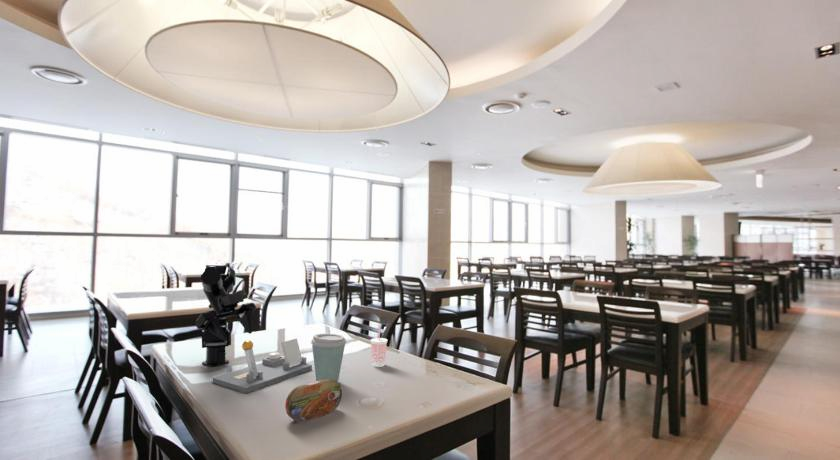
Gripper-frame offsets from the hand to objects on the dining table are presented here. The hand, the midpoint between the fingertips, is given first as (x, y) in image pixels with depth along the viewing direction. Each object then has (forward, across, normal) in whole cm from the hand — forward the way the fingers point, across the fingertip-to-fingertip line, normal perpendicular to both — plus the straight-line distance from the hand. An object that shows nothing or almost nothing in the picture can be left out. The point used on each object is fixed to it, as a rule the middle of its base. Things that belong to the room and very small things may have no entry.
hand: (238, 336), depth 130 cm
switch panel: (+14, +6, +5) cm, 16 cm away
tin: (+36, -8, -22) cm, 43 cm away
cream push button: (+9, +13, +6) cm, 17 cm away
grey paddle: (+15, +14, +1) cm, 21 cm away
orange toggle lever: (+14, -2, 0) cm, 15 cm away
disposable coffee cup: (+29, +11, -12) cm, 33 cm away
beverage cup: (+31, +35, -13) cm, 48 cm away
